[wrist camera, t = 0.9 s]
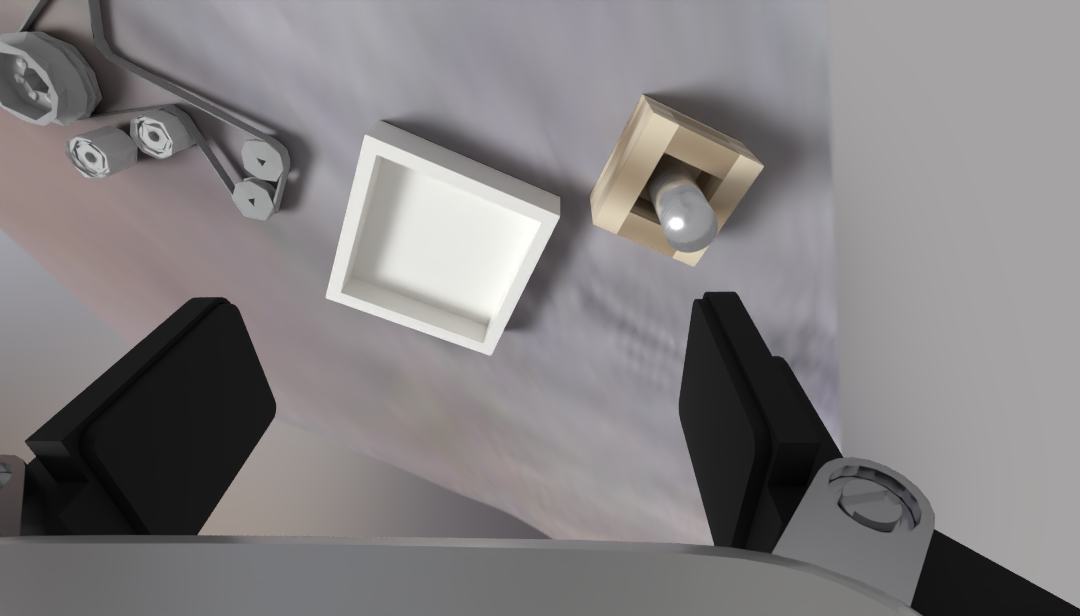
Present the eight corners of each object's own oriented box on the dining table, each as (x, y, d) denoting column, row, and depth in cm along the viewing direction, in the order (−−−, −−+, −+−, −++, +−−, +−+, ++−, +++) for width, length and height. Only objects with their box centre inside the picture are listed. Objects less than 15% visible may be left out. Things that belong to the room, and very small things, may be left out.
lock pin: (657, 147, 36) (683, 196, 29) (694, 164, 37) (729, 217, 30) (636, 185, 38) (655, 241, 31) (672, 201, 39) (699, 260, 31)
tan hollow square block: (642, 93, 35) (653, 112, 31) (741, 142, 37) (764, 166, 33) (589, 195, 40) (593, 224, 36) (680, 235, 41) (694, 266, 37)
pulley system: (181, 248, 45) (324, 192, 40) (140, 276, 41) (294, 217, 36) (-138, -139, 31) (25, -283, 27) (-243, -154, 27) (-72, -325, 23)
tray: (380, 120, 37) (364, 134, 34) (560, 197, 40) (560, 216, 37) (340, 275, 44) (325, 298, 41) (495, 331, 47) (490, 355, 44)
